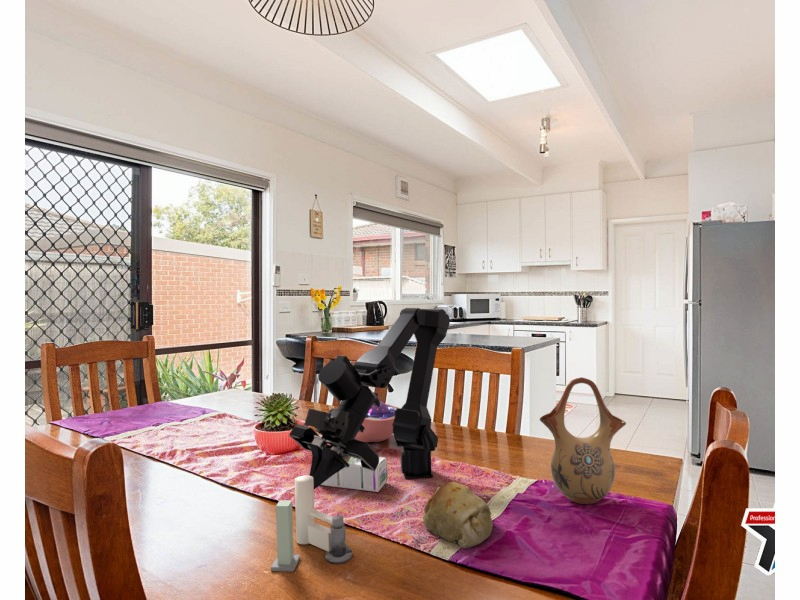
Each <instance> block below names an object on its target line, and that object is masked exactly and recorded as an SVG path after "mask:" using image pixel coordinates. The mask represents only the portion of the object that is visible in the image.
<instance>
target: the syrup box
mask: <svg viewBox="0 0 800 600" xmlns="http://www.w3.org/2000/svg"><path fill="white" fill-rule="evenodd" d="M348 464H349V465H350V466H349V467H348V468H347V467H345V468H343V469H342V470H340V471H339V472H337V473H336V474H334V475H333V476H331V477H330V478H328V479H327V480H326V481H325V482H323V483H322V484H321V485H320V486H326V487H333V488H340V489H342V488H343V489H349V490H350V489H351V490H360V491H368V492H377V493H379V491H380V490H381V489H382V488H383V486H384V485H385V484H386V483H387V481H388V462H387V457H383V456H379V463H378V466H377V468H376V470H375V471H372V470H369V469H365V468H363V467H362V465H361V460H360V459H357V458H353V457H351V458H350V460H349V462H348Z"/></svg>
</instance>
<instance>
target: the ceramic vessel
mask: <svg viewBox="0 0 800 600" xmlns="http://www.w3.org/2000/svg"><path fill="white" fill-rule="evenodd" d="M578 384H579V385H580V384H585V385H587V386H589V387H590V388H591V391H592V392H593V395H594V397H595V400H596V403H597V407H598V411H599V412H598V413H599V426H598V429H597V430H596V431H595V432H594V433H593V434H592V435H590V436H586V437H579V436H575V435H573V434H572V433H571V432H570V431H569V430H568V429H567V428H566V425H565V413H566V412H565V411H566V407H567V403H568V399H569V397H570V394H571V391H572V389H573V388H574V386H576V385H578ZM539 421H540V422H541V423H542V424H543V425H544V426H545V427H546V428H547V429H548V430H549V431H550V432H551V434H552V436H553V439H554V451H553V453H552V456H551V459H550V460H551V461H550V472H551V477H552V480H553V482H554V484H555V486H556V488H557V489H558V491H559V492H560V493H561V494H562V495H563V496H564V497H565V498H566V499H568V500H569V501H571V502H573V503H576V504H579V505H592V504H596V503H598V502H599V501H602V499H604V498H605V497H607V495H608V494H609V493H610V492H611V490H612V488H613V485H614V481H615V478H616V477H615V476H616V467H615V463H614V459H613V456H612V454H611V442H612V440H613V438H614V436H615V435H616V434H617V432H619V431H620V430H621V429H622V428H623V427H625V426H626V425H627V422H625V420H623V419H621V418H619V417H618V416H615V415H614V414H612V412H611V411H610V410H609V409H608V408H607V406H606V404H605V402H604V400H603V397H602V394H601V393H600V390H599V388H598V386H597V384H596V383H595V382H594V381H593V380H591V379H589V378H586V377H578V378H577V377H576V378H574V379H572V380H570V381H569V382H568V384H567V385H566V387H565V389H564V391H563V394H562V396H561V397H560V400H559V401H558V403H557V404H556V406H554V408H552V410H551V411H550V412H549V413H546V414H544V415H542V416H541V417H540V418H539Z"/></svg>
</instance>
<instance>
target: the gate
mask: <svg viewBox="0 0 800 600" xmlns="http://www.w3.org/2000/svg"><path fill="white" fill-rule="evenodd" d="M309 475H310V474H308V475H307V474H306V475H304V474H303V475H300V476H297V477H296V478H294V506H295V532H296V533H295V534H296V535H295V536H296V538H295V539H296V540H295V541H296V543H298V544H299V545H309V544H311V545H312V546H315V547H316V548H319V549H321V550H324V551H328V552H330V551H331V528H329V527H328V526H327V527H326V526H324V525H321V524H320V523H317V522H315V519H318V520H320V521H322V522H325V523H328V524H330V525H333V527H334V528H340V527H342V526H343V525H344V524H345V523H344V516H343V515H341V514H339V515H334V516H333V515H332V516H331V515H328V514H327V513H325V512H322V511H319V510H316V509H315V491H314V490H315V489H314V481H313V477H312V476H309Z"/></svg>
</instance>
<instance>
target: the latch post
mask: <svg viewBox="0 0 800 600" xmlns="http://www.w3.org/2000/svg"><path fill="white" fill-rule="evenodd" d="M293 517H294V515H293V500H292V499H291V500H289V499H287V500H285V499H280V500H279V501H278V502H277V504H276V505H275V521H276V522H275V524H276V525H275V526H276V530H275V531H276V558H275V559H274V561H273V563H272V564H271V566H270V571H271V572H289V573H291V572H294V571H295V569H296V568H297V565H298V563H299V561H300V560H301V554H295V553H294V523H293V522H294V521H293Z"/></svg>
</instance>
